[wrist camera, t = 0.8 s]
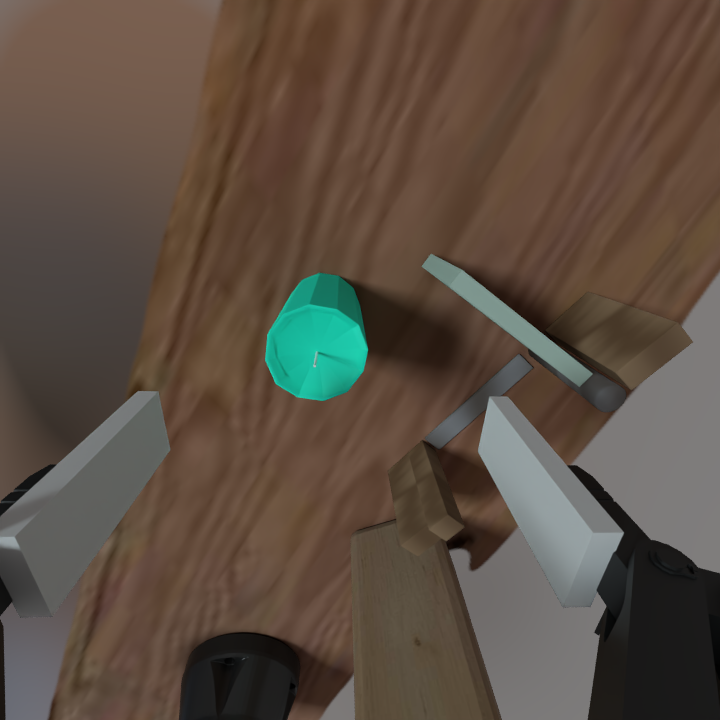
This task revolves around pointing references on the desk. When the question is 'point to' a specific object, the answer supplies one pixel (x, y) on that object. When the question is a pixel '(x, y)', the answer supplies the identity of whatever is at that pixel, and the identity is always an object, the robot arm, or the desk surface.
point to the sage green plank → (506, 318)
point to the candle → (318, 339)
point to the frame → (571, 330)
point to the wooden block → (413, 634)
